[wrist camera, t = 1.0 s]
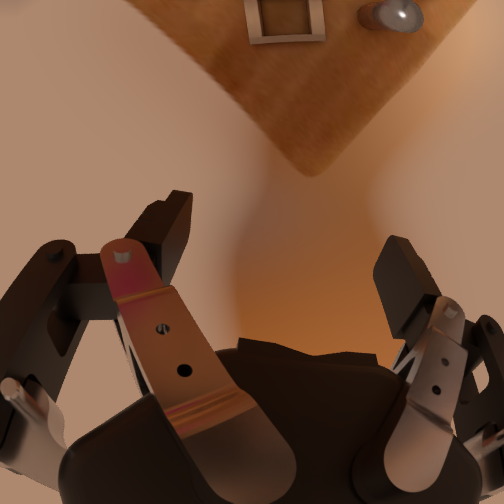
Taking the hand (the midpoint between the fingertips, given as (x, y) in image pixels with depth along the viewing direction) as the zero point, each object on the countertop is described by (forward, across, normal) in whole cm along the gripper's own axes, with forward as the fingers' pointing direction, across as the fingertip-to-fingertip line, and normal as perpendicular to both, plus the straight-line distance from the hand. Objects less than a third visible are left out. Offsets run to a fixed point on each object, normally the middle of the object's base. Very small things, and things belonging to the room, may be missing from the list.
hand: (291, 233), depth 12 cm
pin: (+22, -7, -15) cm, 27 cm away
